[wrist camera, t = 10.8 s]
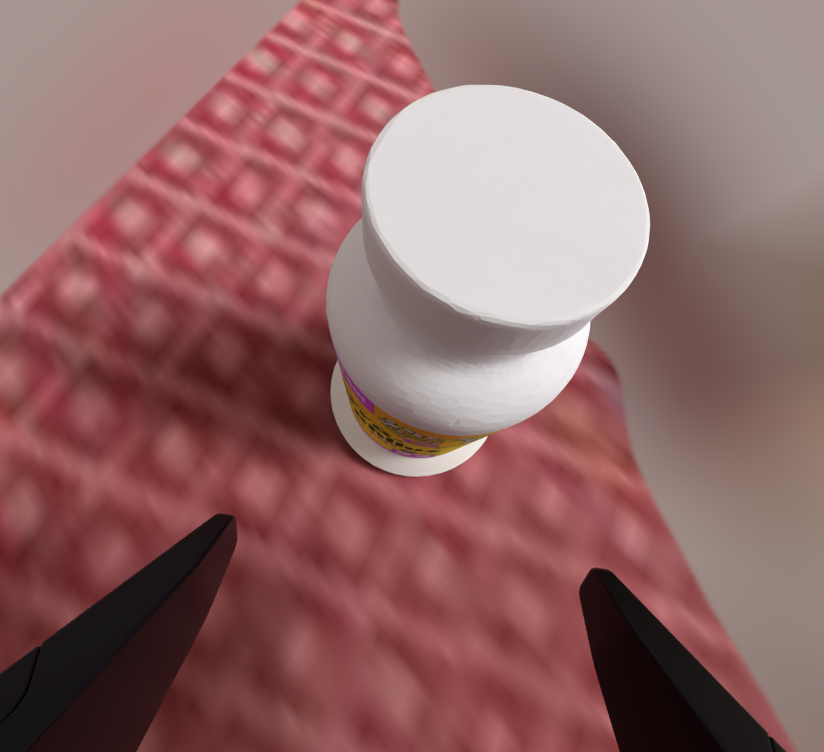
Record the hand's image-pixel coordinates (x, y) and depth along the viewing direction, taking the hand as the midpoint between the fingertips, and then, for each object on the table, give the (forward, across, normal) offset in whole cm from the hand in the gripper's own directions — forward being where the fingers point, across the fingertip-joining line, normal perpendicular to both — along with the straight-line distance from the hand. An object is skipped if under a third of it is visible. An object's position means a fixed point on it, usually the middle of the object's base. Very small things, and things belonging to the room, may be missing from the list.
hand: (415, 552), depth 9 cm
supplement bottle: (+10, 0, +1) cm, 10 cm away
